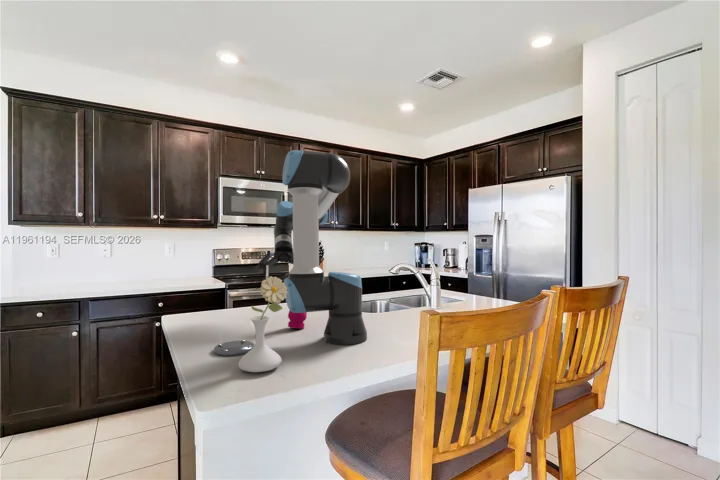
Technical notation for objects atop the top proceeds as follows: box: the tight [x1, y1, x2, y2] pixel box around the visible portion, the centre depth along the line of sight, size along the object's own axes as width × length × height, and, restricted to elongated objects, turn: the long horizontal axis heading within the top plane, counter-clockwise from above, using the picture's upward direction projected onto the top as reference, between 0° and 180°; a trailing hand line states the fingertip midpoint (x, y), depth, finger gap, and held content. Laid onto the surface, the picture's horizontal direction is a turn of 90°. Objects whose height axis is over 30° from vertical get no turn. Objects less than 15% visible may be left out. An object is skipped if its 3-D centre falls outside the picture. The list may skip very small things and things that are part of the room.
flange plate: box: [213, 339, 255, 357], centre depth 113 cm, size 12×12×2 cm
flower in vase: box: [237, 275, 287, 373], centre depth 97 cm, size 13×11×25 cm
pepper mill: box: [287, 310, 308, 329], centre depth 140 cm, size 7×7×20 cm
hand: (285, 279), depth 134 cm, fingers open, 13 cm apart
